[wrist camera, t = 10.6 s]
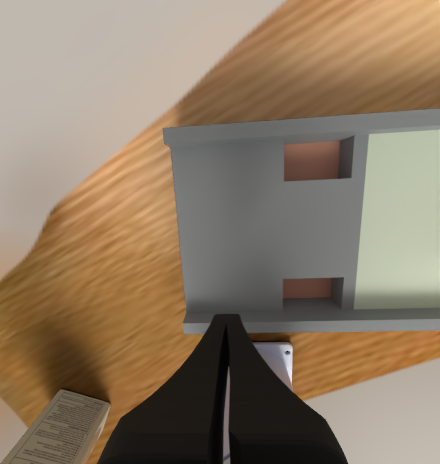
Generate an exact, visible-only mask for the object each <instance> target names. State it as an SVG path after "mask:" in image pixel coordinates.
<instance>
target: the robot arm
mask: <svg viewBox="0 0 440 464" xmlns="http://www.w3.org/2000/svg"><path fill="white" fill-rule="evenodd" d="M286 351H289V352H286ZM292 353H293V348H292V345H291V343H289V342H252V341H251V339H250V337H249V335H248V334H247V332H246V330H245V328H244V325H243V323H242V321H241V317H240V315H239V314H215V315H214V316H213V319H212V321H211V323H210V325H209V327H208V329H207V331H206V332H205V334H204V336H203V337H202V339H201V341H200V342H199V344H198V345H197V346H196V348H195V349H194V351H193V352H192V353H191V355H190V356H189V357H188V359H187V360H186V361H185V362H184V363H183V365H182V366H181V367H180V368H179V369H178V370H177V371H176V372H175V373H174V374H173V376H172V377H171V378H170V379H169V380H168V381H167V382H166V383H164V384H163V385H162V386H161V387H160V388H159V389H158V390H157V391H155V392H154V393H153V394H152V395H151V396H150V397H149V398H147V399H146V400H145V401H143V402H142V403H141V404H139V405H138V406H137V407H135V408H134V409H133V410H131V411H130V412H128V413H127V414H126V415H124V416H123V417H121V419H120V420H119V422H118V424H117V426H116V427H115V429H114V431H113V432H112V434H111V436H110V438H109V440H108V441H107V443H106V446H105V448H104V450H103V452H102V454H101V456H100V458H99V461H98V463H97V464H348V462H347V459H346V457H345V455H344V452H343V450H342V448H341V446H340V445H339V443H338V441H337V439H336V437H335V435H334V433H333V432H332V430H331V428H330V427H329V425H328V423H327V421H326V420H325V419H324V418H323V417H322V416H321V415H319V414H318V413H317V412H316V411H314V410H313V409H312V408H310V407H309V406H308V405H307V404H306V403H304V402H303V401H302V400H301V399H300V398H299V397H298V396H297V395H296V394H295V393H294V391H293V388H292Z"/></svg>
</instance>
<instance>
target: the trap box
mask: <svg viewBox="0 0 440 464" xmlns="http://www.w3.org/2000/svg"><path fill="white" fill-rule="evenodd" d="M163 135H164V144H166V145H167V146H169V147H170V149H171V160H172V170H173V180H174V191H175V201H176V211H177V222H178V232H179V242H180V253H181V263H182V273H183V283H184V294H185V304H186V315H185V318H184V321H183V331H184V334H205V332H206V331H207V329H208V327H209V325H210V323H211V321H212V319H213V316H214V315H215V314H239V315H240V317H241V321H242V323H243V325H244V328H245V330H246V332H247V333H291V332H358V331H425V330H440V108H437V109H423V110H409V111H395V112H381V113H367V114H353V115H339V116H325V117H311V118H297V119H282V120H268V121H254V122H240V123H226V124H212V125H198V126H184V127H170V128H163Z"/></svg>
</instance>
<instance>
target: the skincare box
mask: <svg viewBox="0 0 440 464" xmlns="http://www.w3.org/2000/svg"><path fill="white" fill-rule="evenodd" d="M109 409H110V403H108V402H105V401H101V400H98V399H95V398H91V397H88V396H84V395H81V394H77V393H74V392H70V391H66V390H62V389H60V390H59V391H58V392H57V394H56V395H55V396H54V398H53V399H52V400H51V401H50V402H49V404H48V405H47V406H46V408H45V409H44V410H43V411H42V413H41V414H40V415H39V416H38V418H37V419H36V420H35V421H34V422H33V424H32V425H31V426H30V428H29V429H28V430H27V431H26V433H25V434H24V435H23V436H22V438H21V439H20V440H19V442H18V443H17V444H16V445H15V446H14V448H13V449H12V450H11V451H10V453H9V454H8V455H7V456H6V457H5V459H4V460H3V461H2V462H1V464H86V462H87V460H88V458H89V456H90V454H91V452H92V450H93V448H94V446H95V444H96V442H97V440H98V438H99V436H100V434H101V432H102V430H103V428H104V425H105V422H106V419H107V416H108V412H109Z"/></svg>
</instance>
